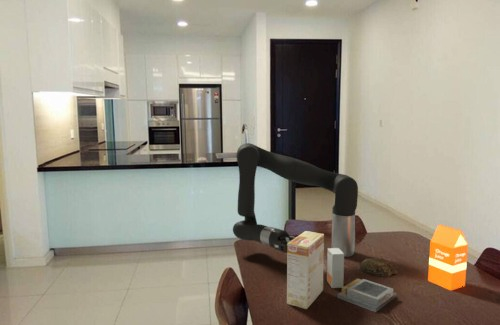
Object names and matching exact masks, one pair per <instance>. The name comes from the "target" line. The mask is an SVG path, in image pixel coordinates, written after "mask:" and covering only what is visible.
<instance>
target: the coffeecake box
mask: <svg viewBox="0 0 500 325" xmlns="http://www.w3.org/2000/svg"><path fill="white" fill-rule="evenodd" d="M298 235H299V236H298V237H296V236H295V237H296V238H295V239H293V240H292V241H290V242H289V243H288V244H287V253H286V255H287V256H286V259H287V260H286V265H287V266H286V304H287V305H289V306H293V307H298V308H300V309H304V310H308V308H309V307H310V306H311V305H312V304H313V303H314V302H315V300H316V299H317V298H318V297H319V295H321V293H322V292H323V291H324V259H325V258H324V254H325V247H324V246H325V234H324V233H320V232H315V231H309V230H304V231H303V232H302V233H300V234H298Z"/></svg>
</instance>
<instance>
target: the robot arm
mask: <svg viewBox="0 0 500 325" xmlns="http://www.w3.org/2000/svg"><path fill="white" fill-rule="evenodd" d="M236 161H237V164H238V165H237V166H238V173H239V174H238V175H239V180H238V181H239V185H238V192H237V193H238V194H237V214H238V215H239V216H240V217H244V219H243V220H240V221H237V222H235V223H234V224H233V225H232V226H233V227H232V232H233V234H234V236H235V237H236V238H237V239H240V240H242V241H250V242H251V241H254V242H258V243H260V244H263V245H266V246H268V247H270V248H273V249H275V250H277V251H280V252H283V253H285V254H287V244H288V243H289V242H290V241H292V240H293V239H295V238H296V237H298V236H299V235H300V234H296V235H295V236H293V235H289V233H288V231H287V230H283V229H281V228H277V227H273V226H268V225H265V224H260V223H257V217H256V213H255V203H256V202H255V201H256V200H255V199H256V197H255V196H256V195H255V194H256V193H255V192H256V190H255V188H256V187H255V184H256V183H255V182H256V174H257V173H256V172H257V168H259V167H260V168H261V169H262V168H263V169H265V170H268V171H271V173H274V174H275V175H277V176H279V177H281V178H283V179H285V180H288V181H291V182H293V183H294V182H295V183H297V184H301V185H306V186H315V187H318V188H323V189H324V190H327V191H329V192H331V193H333V194H335V195H334V205H333V206H332V211H331V212H332V215H331V216H332V218H331V220H332V221H331V248H339V249H340V250H341V251H342V252H343V253H344V258H348V257H349V258H350V257H352V256H354V254H355V249H356V248H355V246H356V244H355V243H356V241H355V240H356V230H355V228H356V226H355V225H356V224H355V222H356V209H357V208H358V195H359V186H358V183H357V180H355V179H354V178H353V177H351V176H349V175H347V174H343V173H338V172H332V171H329V170H325V169H323V168H320V167H317V166H316V165H314V164H311V163H309V162H306V161H303V160H301V159H297V158H295V157H291V156H287V155H283V154H279V153H275V152H272V151H268V150H267V149H265V148H261V147H260V146H257V145H255V144H254V143H249V142H248V143H247V142H246V143H243V144H241V145H240V146H239V147H238V148H237V152H236Z"/></svg>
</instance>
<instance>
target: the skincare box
mask: <svg viewBox="0 0 500 325" xmlns="http://www.w3.org/2000/svg"><path fill="white" fill-rule="evenodd" d="M326 258H327V260H326V261H327V262H326V263H327V264H326V281H327V283H328V284H329V286H330V287H331V289H340V288H341V289H342V287H344V273H345V272H344V271H345V270H344V269H345V257H344V253H343V252H342V251H341V250H340V249H339V248H332V247H330V248H329V247H327V257H326Z"/></svg>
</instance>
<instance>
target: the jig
mask: <svg viewBox="0 0 500 325" xmlns="http://www.w3.org/2000/svg"><path fill="white" fill-rule="evenodd" d="M396 297H397V292H394V288H392V287H389V286H387V285H383V284H380V283H377V282H374V281H371V280H368V279H366V278H365V279H364V278H362V279H360V278H358V277H357V278H356V279H354V280H352V281H351V282H349V283H347V284H346V285H343V287H342V288H341V292H339V293H337V298H338V299H339V300H342V301H345V302H347V303H351V304H353V305H355V306H358V307H361V308H363V309H365V310H368V311H371V312H372V313H373V312H374V313H377V312H378V311H380V310H381V309H382V308H384V307H385V306H386V305H387V304H389V303H390V302H391V301H392V300H394V299H395V298H396Z"/></svg>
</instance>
